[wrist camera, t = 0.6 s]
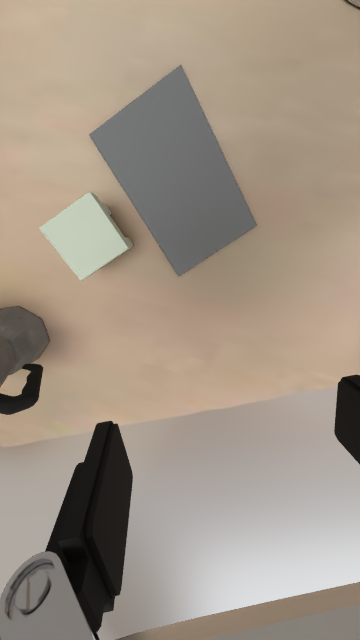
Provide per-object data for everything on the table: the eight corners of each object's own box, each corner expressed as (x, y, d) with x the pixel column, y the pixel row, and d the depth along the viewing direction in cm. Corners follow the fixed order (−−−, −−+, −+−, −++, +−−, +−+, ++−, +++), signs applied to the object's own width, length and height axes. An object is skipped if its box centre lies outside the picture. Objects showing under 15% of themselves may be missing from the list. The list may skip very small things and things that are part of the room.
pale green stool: (106, 202, 32) (89, 191, 24) (135, 245, 34) (128, 248, 26) (68, 230, 32) (39, 228, 24) (98, 270, 34) (80, 280, 26)
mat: (180, 68, 28) (180, 64, 27) (255, 225, 34) (256, 225, 33) (90, 136, 29) (89, 134, 29) (178, 275, 35) (178, 276, 35)
